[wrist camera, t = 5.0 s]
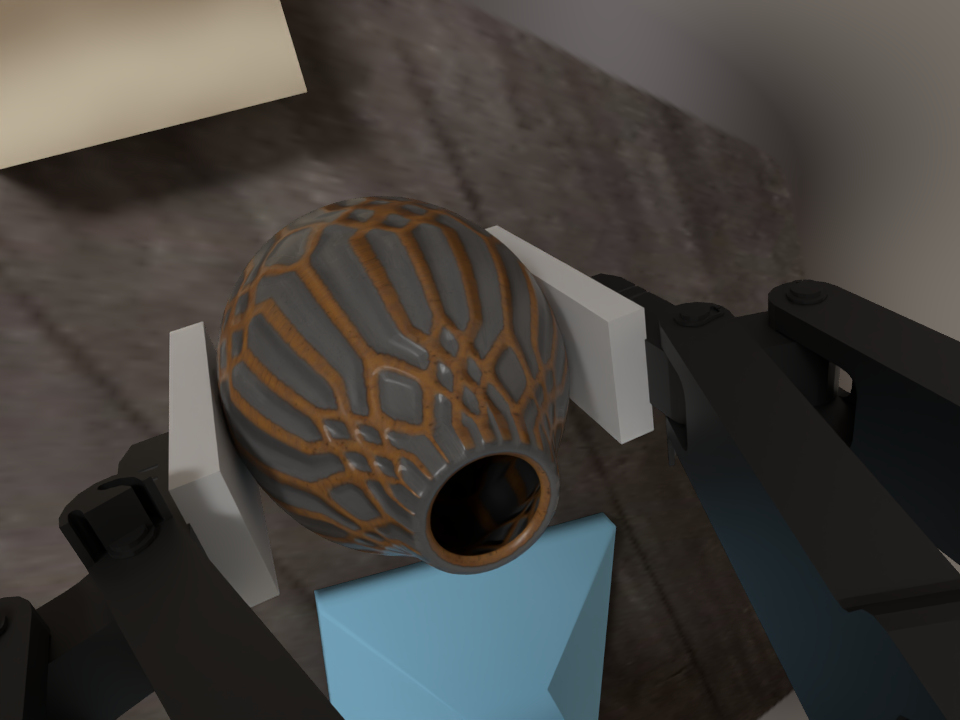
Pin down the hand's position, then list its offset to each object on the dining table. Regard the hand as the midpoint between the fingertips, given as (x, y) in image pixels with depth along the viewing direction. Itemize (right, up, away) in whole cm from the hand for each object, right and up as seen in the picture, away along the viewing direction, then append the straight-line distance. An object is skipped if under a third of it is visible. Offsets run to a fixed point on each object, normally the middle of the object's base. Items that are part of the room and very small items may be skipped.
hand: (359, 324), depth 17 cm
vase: (0, 0, 0) cm, 1 cm away
